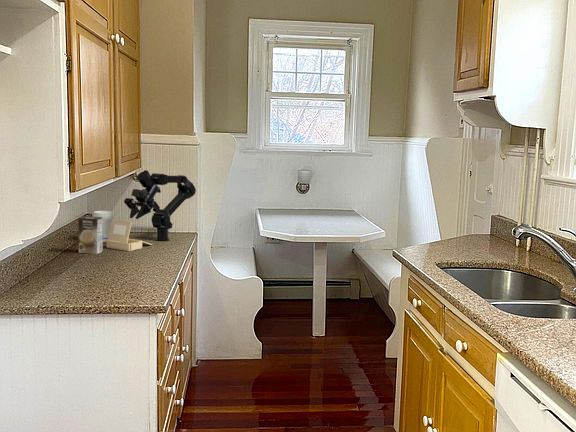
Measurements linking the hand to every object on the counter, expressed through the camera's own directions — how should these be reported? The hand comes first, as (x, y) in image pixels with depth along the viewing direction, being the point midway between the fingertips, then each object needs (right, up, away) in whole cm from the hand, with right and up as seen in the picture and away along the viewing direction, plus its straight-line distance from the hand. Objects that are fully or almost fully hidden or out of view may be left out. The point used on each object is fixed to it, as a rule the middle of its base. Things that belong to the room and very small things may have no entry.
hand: (133, 218), depth 288 cm
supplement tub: (-18, -12, +13) cm, 25 cm away
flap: (-4, -6, -7) cm, 10 cm away
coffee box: (-16, -16, -15) cm, 27 cm away
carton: (-1, -14, 0) cm, 14 cm away
